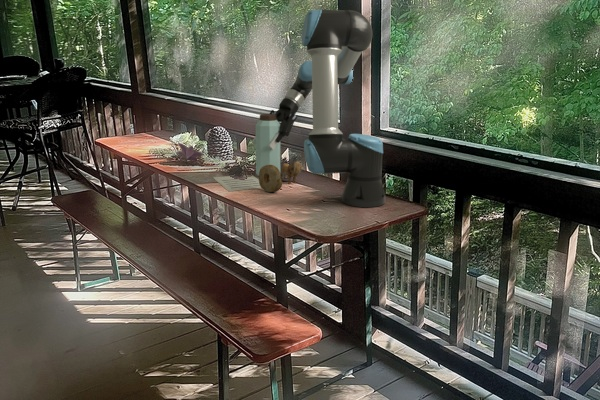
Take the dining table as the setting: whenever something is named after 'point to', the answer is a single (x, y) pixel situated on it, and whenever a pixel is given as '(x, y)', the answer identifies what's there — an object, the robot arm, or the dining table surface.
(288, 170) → the lion figurine
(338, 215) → the dining table surface
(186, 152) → the lily
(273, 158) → the water bottle
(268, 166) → the stone disc
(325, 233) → the dining table surface
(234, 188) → the letter
